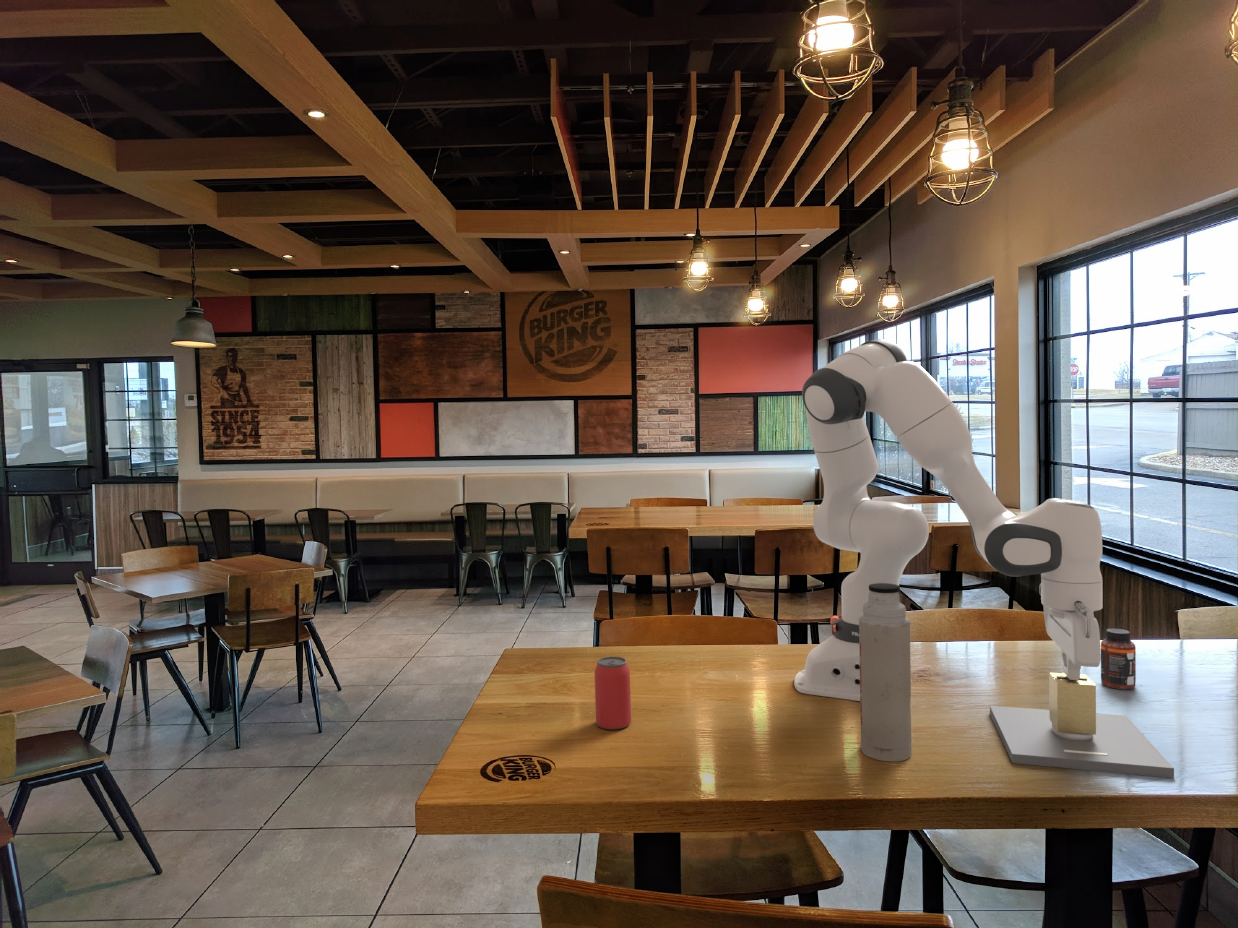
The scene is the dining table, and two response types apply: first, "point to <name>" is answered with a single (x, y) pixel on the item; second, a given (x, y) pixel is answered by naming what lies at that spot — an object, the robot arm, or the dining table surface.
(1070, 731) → the brushed gold block
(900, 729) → the thermos bottle
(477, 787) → the dining table surface
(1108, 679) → the supplement bottle
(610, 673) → the beer can
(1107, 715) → the stud plate
